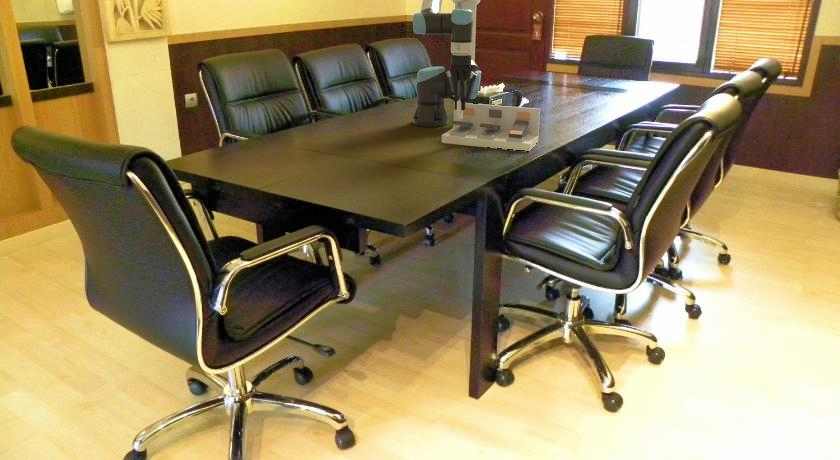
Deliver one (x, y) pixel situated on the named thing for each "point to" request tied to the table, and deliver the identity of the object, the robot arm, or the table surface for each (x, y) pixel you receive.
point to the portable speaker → (515, 96)
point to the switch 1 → (462, 123)
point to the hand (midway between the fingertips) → (459, 118)
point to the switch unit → (491, 136)
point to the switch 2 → (489, 125)
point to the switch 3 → (518, 128)
